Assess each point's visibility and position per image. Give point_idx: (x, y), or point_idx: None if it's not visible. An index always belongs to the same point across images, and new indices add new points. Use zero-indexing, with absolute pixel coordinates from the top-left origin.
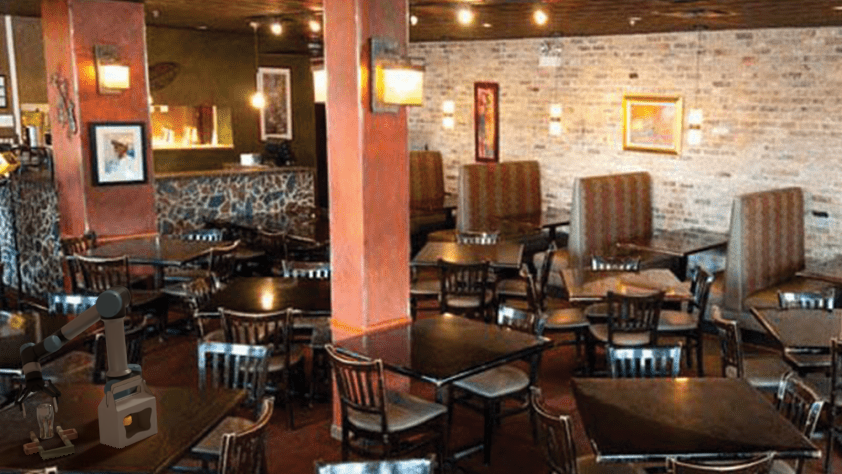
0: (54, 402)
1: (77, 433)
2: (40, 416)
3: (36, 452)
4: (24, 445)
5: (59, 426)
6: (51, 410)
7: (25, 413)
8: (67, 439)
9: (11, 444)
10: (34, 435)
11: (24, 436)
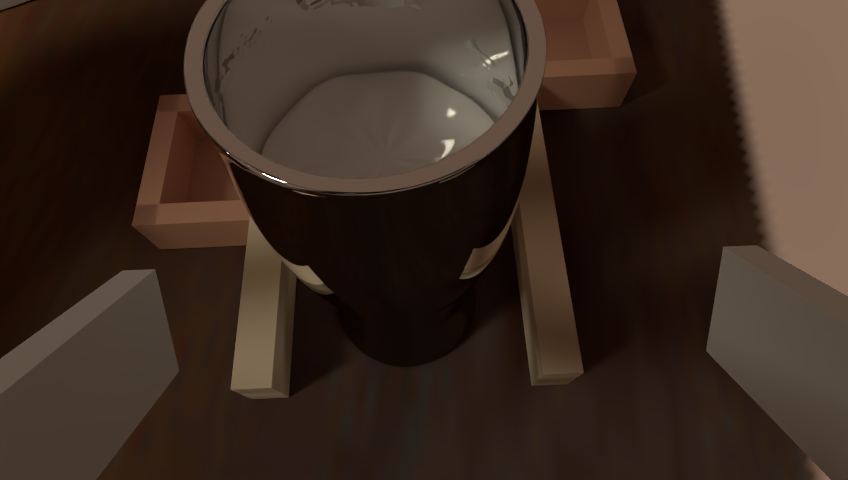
0: (35, 391)
1: (164, 98)
2: (473, 74)
3: None
4: (623, 50)
5: (240, 367)
6: (275, 30)
7: (754, 263)
8: None
9: None
10: (533, 232)
11: (628, 446)
